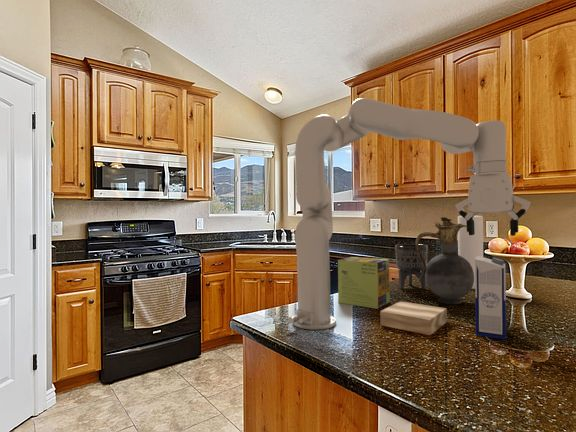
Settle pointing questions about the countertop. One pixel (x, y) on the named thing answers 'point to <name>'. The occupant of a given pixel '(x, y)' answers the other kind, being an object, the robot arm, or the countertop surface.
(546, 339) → the countertop surface
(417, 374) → the countertop surface
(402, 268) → the planter
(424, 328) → the oak block
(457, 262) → the pitcher
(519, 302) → the countertop surface
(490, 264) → the milk carton
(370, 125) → the robot arm
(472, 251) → the cylinder container
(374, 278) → the protein box
